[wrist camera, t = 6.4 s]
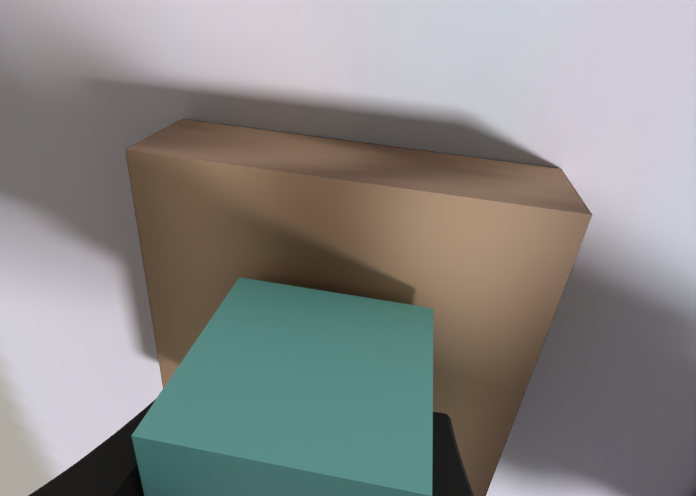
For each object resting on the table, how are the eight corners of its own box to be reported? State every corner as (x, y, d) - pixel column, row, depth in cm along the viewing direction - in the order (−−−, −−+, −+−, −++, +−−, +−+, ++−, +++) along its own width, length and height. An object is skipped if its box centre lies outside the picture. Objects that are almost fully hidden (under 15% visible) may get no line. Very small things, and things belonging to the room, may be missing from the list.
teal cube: (433, 308, 12) (432, 495, 7) (405, 442, 14) (391, 642, 10) (239, 277, 12) (131, 436, 8) (244, 412, 15) (164, 589, 10)
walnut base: (561, 168, 13) (592, 214, 10) (474, 434, 18) (481, 508, 16) (182, 119, 14) (125, 149, 12) (207, 383, 20) (172, 444, 17)
